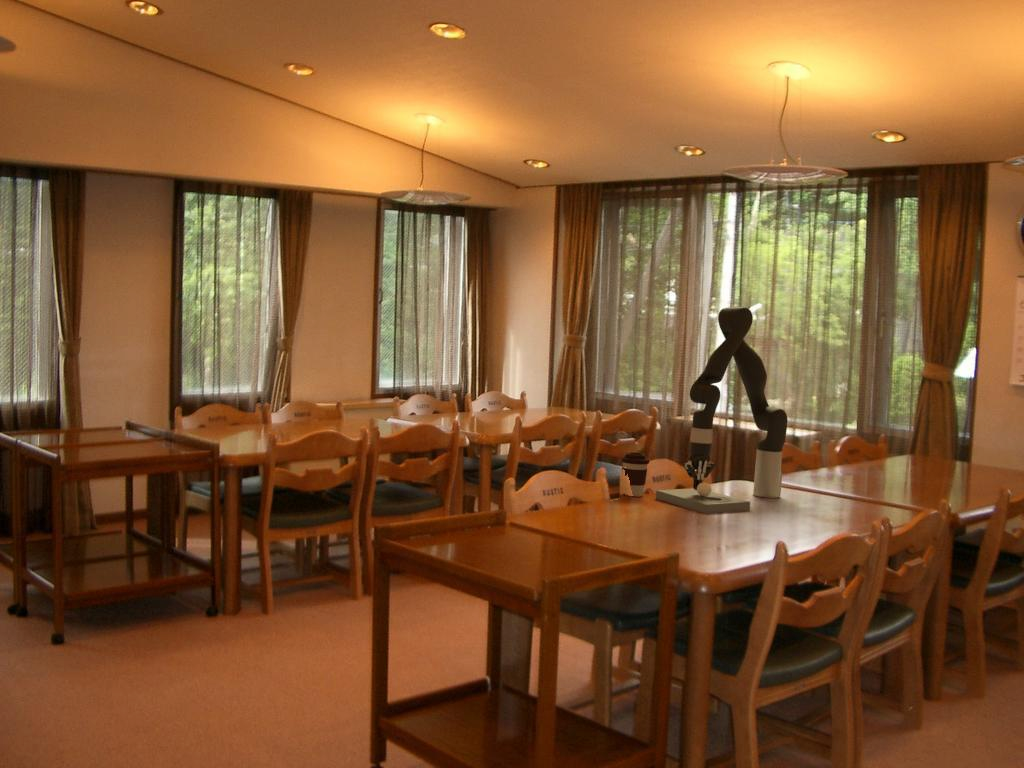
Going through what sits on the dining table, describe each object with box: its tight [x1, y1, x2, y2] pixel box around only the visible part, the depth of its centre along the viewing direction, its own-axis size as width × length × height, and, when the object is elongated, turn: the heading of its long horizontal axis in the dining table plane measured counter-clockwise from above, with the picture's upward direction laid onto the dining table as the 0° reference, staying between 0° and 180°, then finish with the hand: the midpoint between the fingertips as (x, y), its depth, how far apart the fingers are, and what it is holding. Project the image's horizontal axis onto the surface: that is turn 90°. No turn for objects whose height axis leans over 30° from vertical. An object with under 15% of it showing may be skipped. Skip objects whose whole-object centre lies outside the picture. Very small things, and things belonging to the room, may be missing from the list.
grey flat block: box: [655, 488, 751, 514], centre depth 363 cm, size 20×26×3 cm
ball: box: [697, 481, 712, 497], centre depth 362 cm, size 5×5×5 cm
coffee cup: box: [620, 452, 650, 498], centre depth 373 cm, size 10×10×15 cm
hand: (697, 489), depth 365 cm, fingers closed
